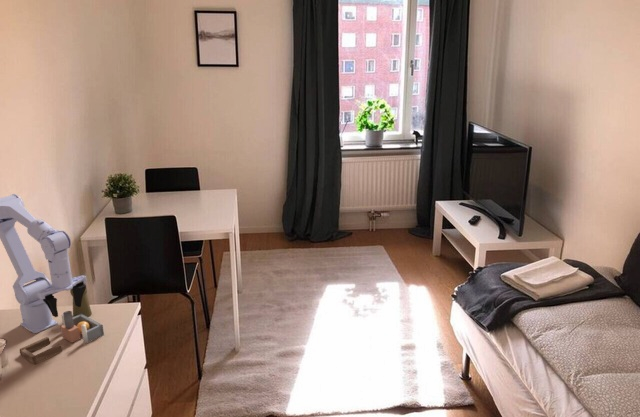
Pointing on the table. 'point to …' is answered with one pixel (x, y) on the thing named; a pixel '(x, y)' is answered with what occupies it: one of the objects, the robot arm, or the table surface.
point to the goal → (88, 335)
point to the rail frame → (43, 355)
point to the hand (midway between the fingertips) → (66, 310)
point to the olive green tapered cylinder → (82, 306)
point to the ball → (82, 324)
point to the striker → (70, 328)
